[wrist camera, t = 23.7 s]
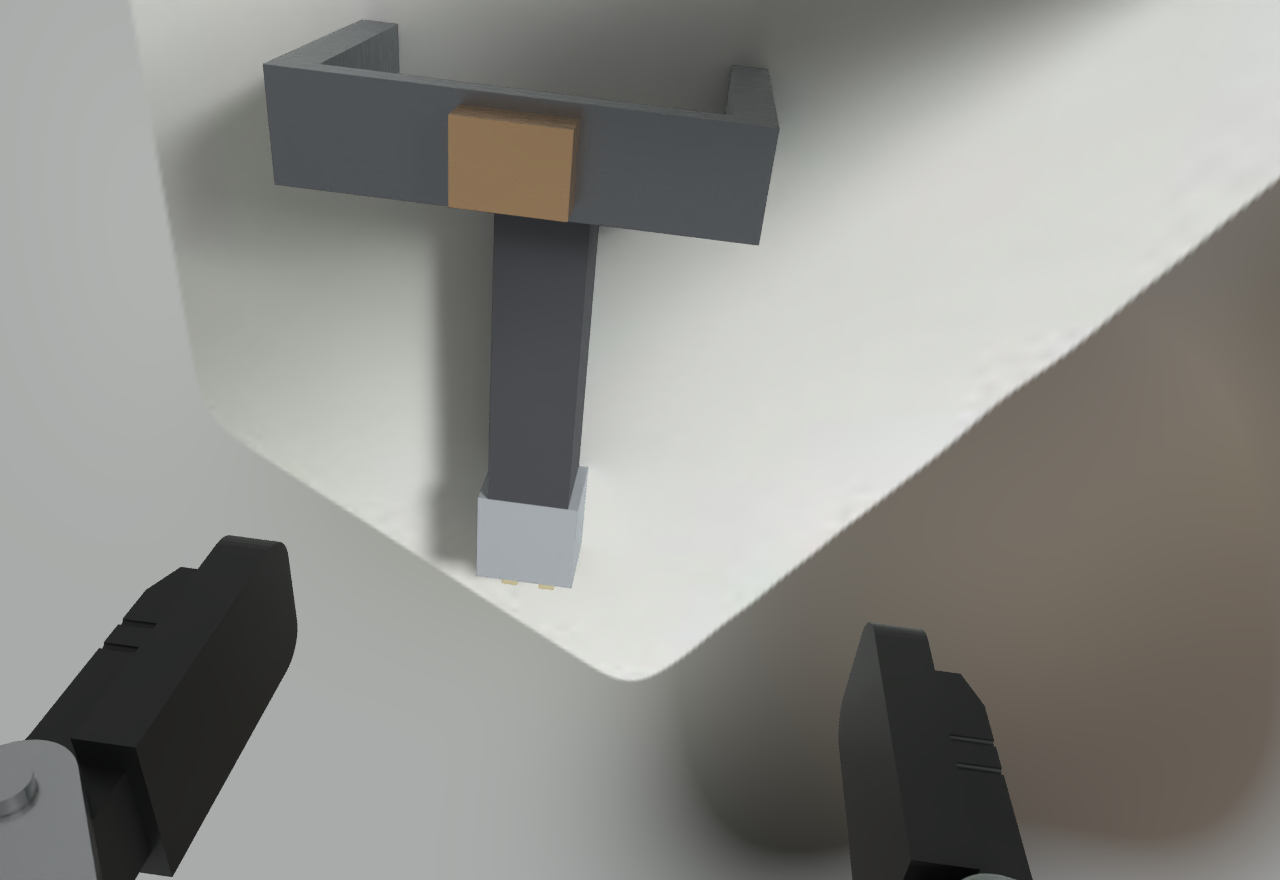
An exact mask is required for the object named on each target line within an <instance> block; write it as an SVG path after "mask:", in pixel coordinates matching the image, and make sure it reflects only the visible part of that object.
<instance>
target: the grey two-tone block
mask: <svg viewBox="0 0 1280 880" xmlns="http://www.w3.org/2000/svg"><path fill="white" fill-rule="evenodd" d="M598 229H599V225H593V224H585V223H577V222H569V221H568V222H562V221H554V220H546V219H538V218H530V217H523V216H515V215H507V214H499V213H495V215H494V258H493V300H492V343H491V385H490V428H489V470H488V473H487V476H486V478H485V481H484V483H483V486H482V488H481V491H480V493H479V496H478V516H477V576H482V577H489V578H497V579H502V583H504V584H511V585H517V582H518V581H520V582H527V583H535V584H539V588H541V589H549V590H553V589H554V586H557V587H565V588H572V584H573V579H574V574H575V570H576V565H577V561H578V556H579V551H580V547H581V542H582V531H583V520H584V509H585V497H586V486H587V475H588V467H582V466H579V458H580V446H581V434H582V422H583V410H584V398H585V385H586V373H587V361H588V349H589V337H590V325H591V313H592V301H593V289H594V277H595V265H596V253H597V241H598Z"/></svg>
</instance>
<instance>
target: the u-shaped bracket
mask: <svg viewBox="0 0 1280 880" xmlns="http://www.w3.org/2000/svg"><path fill="white" fill-rule="evenodd" d="M263 70H264V80H265V90H266V100H267V110H268V120H269V131H270V141H271V151H272V161H273V171H274V181H275V185H283V186H291V187H299V188H307V189H315V190H323V191H331V192H339V193H346V194H354V195H362V196H370V197H378V198H386V199H394V200H402V201H410V202H418V203H426V204H434V205H442V206H448V207H451V208H459V209H467V210H475V211H483V212H491V213H499V214H507V215H515V216H523V217H530V218H538V219H546V220H554V221H562V222H568V221H569V222H577V223H585V224H593V225H601V226H608V227H616V228H624V229H632V230H640V231H648V232H656V233H664V234H672V235H680V236H688V237H696V238H704V239H712V240H720V241H728V242H736V243H743V244H751V245H759V241H760V235H761V230H762V224H763V218H764V212H765V207H766V201H767V195H768V190H769V184H770V178H771V173H772V167H773V161H774V155H775V150H776V144H777V138H778V133H779V124H778V119H777V114H776V108H775V103H774V98H773V92H772V87H771V82H770V77H769V71H768V70H766V69H758V68H750V67H742V66H734V65H732V70H731V77H730V84H729V91H728V98H727V104H726V111H725V114H718V113H710V112H702V111H694V110H686V109H678V108H670V107H661V106H653V105H645V104H637V103H629V102H621V101H613V100H605V99H597V98H589V97H581V96H573V95H565V94H557V93H549V92H541V91H533V90H525V89H517V88H509V87H501V86H492V85H484V84H476V83H468V82H460V81H452V80H444V79H436V78H428V77H420V76H412V75H404V74H399V48H398V24H394V23H386V22H378V21H370V20H360V21H358V22H356V23H353V24H351V25H349V26H347V27H344V28H342V29H340V30H338V31H336V32H333V33H331V34H329V35H327V36H324V37H322V38H320V39H318V40H315V41H313V42H311V43H309V44H306V45H304V46H302V47H300V48H298V49H295V50H293V51H291V52H289V53H286V54H284V55H282V56H280V57H277V58H275V59H273V60H271V61H268V62H266V63H264V64H263Z"/></svg>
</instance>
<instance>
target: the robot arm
mask: <svg viewBox="0 0 1280 880" xmlns="http://www.w3.org/2000/svg"><path fill="white" fill-rule="evenodd" d="M296 639H297V617H296V610H295V602H294V595H293V587H292V580H291V574H290V565H289V558H288V552H287V549H286V547H285V545H284V544H283V543H281V542H276V541H269V540H261V539H254V538H245V537H239V536H231V535H228V536H225V537H223V538H222V539H221V540H220V541H219V542H218V543H217V544H216V546H215V547H214V548H213V550H212V551H211V552H210V554H209V555H208V556H207V558H206V559H205V560H204V562H203V563H202V564H201V566H200V567H199V568H198V569H192V568H185V567H180V568H179V569H177V570H176V571H174V572H172V573H171V574H169V575H168V576H166V577H165V578H163V579H162V580H160V581H159V582H157V583H156V584H154V585H153V586H151V587H150V588H148V589H147V590H146V591H145V592H144V593H143V594H142V595H141V597H140V598H139V599H138V601H137V602H136V603H135V604H134V605H133V607H132V608H131V609H130V610H129V612H128V613H127V614H126V615H125V617H124V618H123V622H122V624H121V625H117V627H116V628H115V629H114V630H113V632H112V633H111V634H110V635H109V637H108V638H107V639H106V640H105V642H104V646H103V648H102V649H101V648H99V649H98V650H97V652H96V653H95V654H94V655H93V657H92V658H91V659H90V660H89V661H88V663H87V664H86V665H85V666H84V668H83V669H82V670H81V672H80V673H79V674H78V675H77V676H76V678H75V679H74V680H73V681H72V683H71V684H70V685H69V686H68V688H67V689H66V690H65V691H64V693H63V694H62V695H61V696H60V698H59V699H58V700H57V701H56V703H55V704H54V705H53V706H52V708H51V709H50V710H49V711H48V713H47V714H46V715H45V717H44V718H43V719H42V720H41V721H40V722H39V724H38V725H37V726H36V728H35V729H34V730H33V731H32V733H31V734H30V735H29V736H28V737H27V738H26V739H25V740H23V741H17V742H12V743H8V744H4V745H1V746H0V880H135V879H136V877H137V875H138V874H139V872H141V873H148V874H155V875H162V876H169V877H173V875H174V873H175V871H176V869H177V868H178V866H179V864H180V862H181V861H182V859H183V857H184V855H185V853H186V852H187V850H188V848H189V846H190V844H191V842H192V841H193V839H194V837H195V835H196V833H197V831H198V830H199V828H200V826H201V824H202V823H203V821H204V819H205V817H206V815H207V814H208V812H209V810H210V808H211V806H212V804H213V803H214V801H215V799H216V797H217V796H218V794H219V792H220V790H221V788H222V787H223V785H224V783H225V781H226V779H227V778H228V776H229V774H230V772H231V770H232V769H233V767H234V765H235V763H236V761H237V759H238V758H239V756H240V754H241V752H242V750H243V749H244V747H245V745H246V743H247V741H248V740H249V738H250V736H251V734H252V732H253V730H254V729H255V727H256V725H257V723H258V722H259V720H260V718H261V716H262V714H263V713H264V711H265V709H266V707H267V705H268V704H269V701H270V700H271V698H272V696H273V694H274V693H275V691H276V689H277V687H278V685H279V684H280V682H281V680H282V678H283V676H284V675H285V673H286V671H287V669H288V667H289V665H290V662H291V660H292V657H293V654H294V649H295V645H296ZM993 742H994V739H993V735H992V731H991V728H990V724H989V720H988V717H987V713H986V710H985V706H984V704H983V703H982V702H981V700H980V699H979V698H978V697H977V695H976V694H975V693H974V691H973V690H972V688H971V687H970V686H969V684H968V683H967V682H966V681H965V679H964V678H963V676H962V675H961V674H958V673H950V672H943V671H935V669H934V664H933V660H932V656H931V651H930V647H929V642H928V639H927V635H926V633H925V632H924V630H922V629H914V628H907V627H900V626H892V625H884V624H877V623H870V622H869V623H867V624H866V626H865V628H864V630H863V632H862V635H861V639H860V643H859V646H858V649H857V653H856V656H855V659H854V663H853V667H852V669H851V673H850V676H849V680H848V683H847V687H846V690H845V693H844V697H843V700H842V705H841V711H840V719H839V753H840V762H841V771H842V782H843V792H844V801H845V810H846V821H847V831H848V840H849V850H850V860H851V870H852V878H853V880H1033V879H1032V876H1031V872H1030V869H1029V865H1028V862H1027V858H1026V855H1025V851H1024V847H1023V843H1022V840H1021V836H1020V833H1019V829H1018V825H1017V822H1016V818H1015V815H1014V811H1013V807H1012V804H1011V800H1010V797H1009V793H1008V789H1007V786H1006V782H1005V778H1004V775H1001V764H1000V760H999V756H998V753H997V749H996V747H994V746H993Z"/></svg>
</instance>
